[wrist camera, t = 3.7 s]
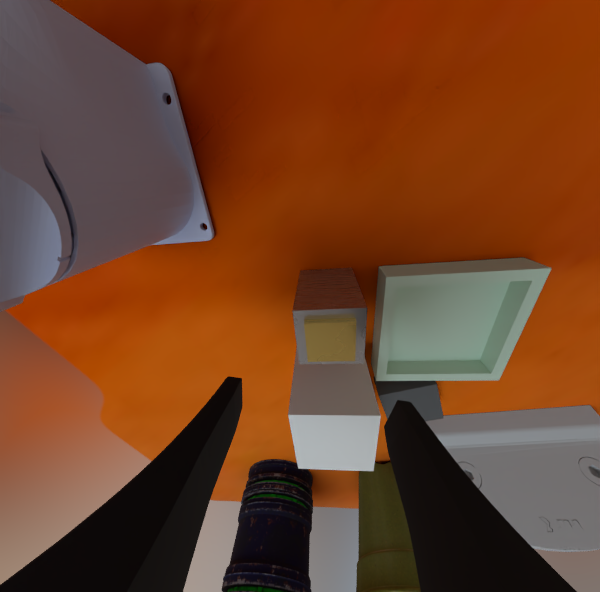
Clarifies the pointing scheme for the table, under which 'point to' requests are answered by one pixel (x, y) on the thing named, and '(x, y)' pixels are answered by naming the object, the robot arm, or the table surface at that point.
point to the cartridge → (329, 317)
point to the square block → (411, 397)
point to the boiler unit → (334, 416)
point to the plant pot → (384, 535)
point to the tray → (452, 318)
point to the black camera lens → (273, 531)
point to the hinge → (534, 470)
